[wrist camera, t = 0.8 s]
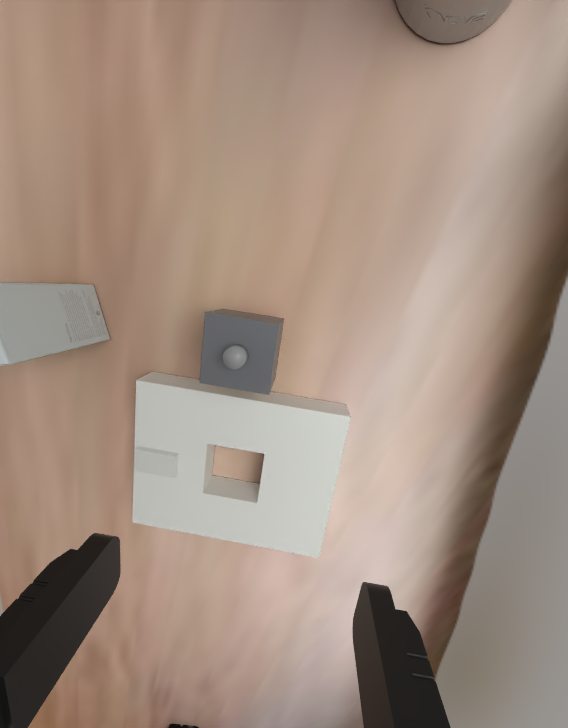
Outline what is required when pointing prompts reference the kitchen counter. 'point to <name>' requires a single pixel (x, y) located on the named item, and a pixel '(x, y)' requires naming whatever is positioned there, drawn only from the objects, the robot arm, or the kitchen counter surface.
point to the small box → (47, 319)
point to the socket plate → (245, 432)
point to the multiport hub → (181, 726)
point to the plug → (240, 350)
